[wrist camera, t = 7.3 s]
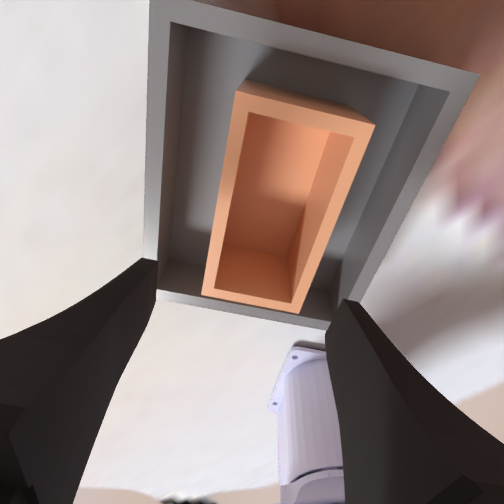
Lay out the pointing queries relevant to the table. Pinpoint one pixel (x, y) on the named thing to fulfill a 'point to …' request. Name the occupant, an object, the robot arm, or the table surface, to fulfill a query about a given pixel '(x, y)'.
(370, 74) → the big crate
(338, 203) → the box
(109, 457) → the table surface
